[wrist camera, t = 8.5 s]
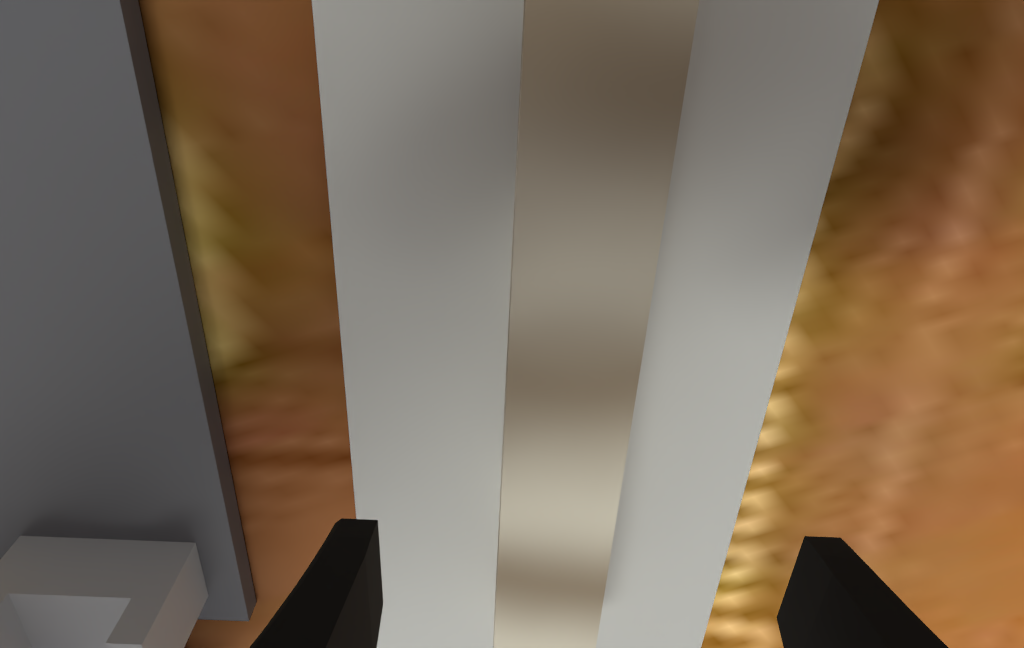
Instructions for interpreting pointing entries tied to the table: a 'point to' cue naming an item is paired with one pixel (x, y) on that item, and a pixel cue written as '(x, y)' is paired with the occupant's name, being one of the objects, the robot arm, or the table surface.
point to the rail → (580, 295)
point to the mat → (486, 292)
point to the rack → (102, 353)
